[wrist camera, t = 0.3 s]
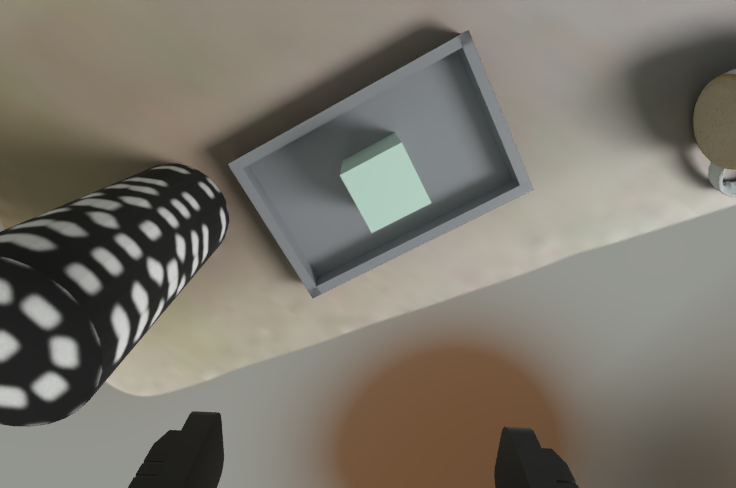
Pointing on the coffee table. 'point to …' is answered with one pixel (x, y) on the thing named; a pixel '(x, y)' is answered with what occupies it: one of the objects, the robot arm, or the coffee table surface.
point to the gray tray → (424, 147)
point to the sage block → (383, 183)
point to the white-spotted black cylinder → (96, 284)
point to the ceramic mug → (718, 128)
